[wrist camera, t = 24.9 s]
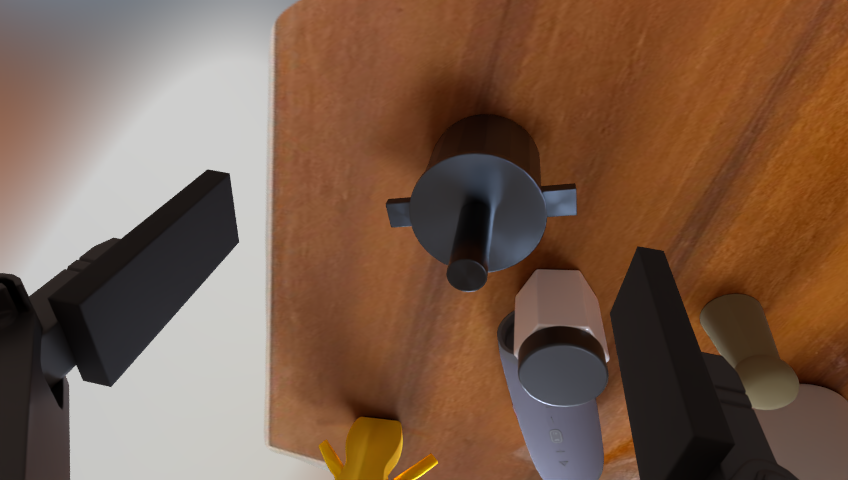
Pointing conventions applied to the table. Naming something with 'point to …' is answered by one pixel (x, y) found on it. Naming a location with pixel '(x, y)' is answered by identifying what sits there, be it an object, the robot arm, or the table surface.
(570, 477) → the bluetooth speaker
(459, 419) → the table surface
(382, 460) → the figure statuette
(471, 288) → the lid
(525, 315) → the jar
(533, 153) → the pot
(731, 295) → the brown game pawn
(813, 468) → the cylinder vase
